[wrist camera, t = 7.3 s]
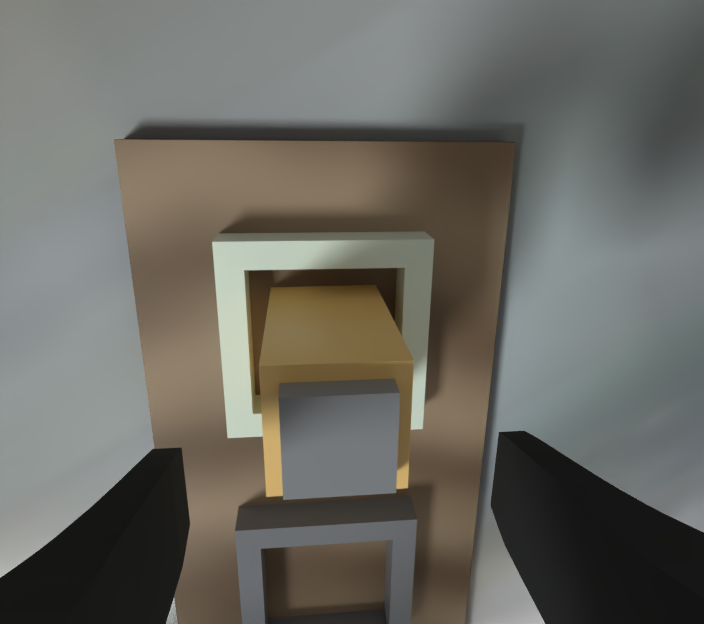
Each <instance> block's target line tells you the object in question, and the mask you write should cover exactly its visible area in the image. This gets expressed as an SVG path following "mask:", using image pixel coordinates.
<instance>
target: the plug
mask: <svg viewBox="0 0 704 624" xmlns="http://www.w3.org/2000/svg"><path fill="white" fill-rule="evenodd" d="M413 371H414V359H413V357H412V355H411V353H410V351H409V349H408V347H407V345H406V343H405V342H404V340H403V338H402V336H401V334H400V332H399V330H398V328H397V326H396V324H395V322H394V320H393V318H392V316H391V314H390V312H389V310H388V308H387V306H386V304H385V302H384V300H383V298H382V296H381V294H380V292H379V290H378V288H377V286H376V285H348V286H305V287H271V290H270V296H269V303H268V309H267V316H266V322H265V329H264V335H263V342H262V348H261V355H260V361H259V379H260V397H261V414H262V431H263V448H264V465H265V482H266V497H273V496H283V500H291V499H308V498H324V497H340V496H356V495H372V494H388V493H396V489H404V488H408V475H409V454H410V433H411V413H412V392H413Z"/></svg>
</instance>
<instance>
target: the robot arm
mask: <svg viewBox="0 0 704 624" xmlns="http://www.w3.org/2000/svg"><path fill="white" fill-rule="evenodd" d="M491 508H492V510H493V513H494V516H495V519H496V522H497V525H498V528H499V530H500V533H501V536H502V538H503V541H504V544H505V546H506V548H507V550H508V552H509V554H510V556H511V558H512V560H513V562H514V564H515V566H516V568H517V570H518V572H519V574H520V576H521V578H522V580H523V582H524V584H525V585H526V587H527V589H528V591H529V593H530V595H531V597H532V599H533V601H534V603H535V605H536V607H537V608H538V610H539V612H540V614H541V616H542V618H543V620H544V622H545V624H704V533H703V532H701V531H699V530H697V529H695V528H692V527H690V526H688V525H686V524H684V523H682V522H680V521H678V520H676V519H674V518H672V517H670V516H668V515H665V514H663V513H661V512H660V511H658V510H656V509H654V508H652V507H650V506H648V505H646V504H644V503H643V502H641V501H639V500H637V499H636V498H634V497H632V496H630V495H628V494H627V493H625V492H623V491H621V490H620V489H618V488H616V487H614V486H613V485H611V484H609V483H608V482H606V481H604V480H603V479H601V478H599V477H598V476H596V475H595V474H593V473H591V472H590V471H588V470H587V469H585V468H583V467H582V466H580V465H579V464H577V463H576V462H574V461H572V460H571V459H569V458H568V457H566V456H565V455H563V454H562V453H560V452H558V451H557V450H555V449H554V448H552V447H551V446H549V445H547V444H546V443H544V442H543V441H541V440H539V439H538V438H536V437H534V436H533V435H531V434H529V433H527V432H525V431H513V432H499V437H498V446H497V454H496V463H495V472H494V480H493V489H492V497H491ZM189 528H190V517H189V509H188V500H187V491H186V482H185V473H184V464H183V455H182V447H181V448H161V449H152V450H151V451H150V452H149V453H148V454H147V455H146V456H145V457H144V458H143V459H142V460H141V461H140V462H139V463H138V464H137V465H136V466H134V467H133V468H132V469H131V470H130V471H129V472H128V473H127V474H126V475H125V476H124V477H123V478H122V479H121V480H120V481H119V482H118V483H117V484H116V485H115V486H114V487H113V488H112V489H110V490H109V491H108V492H107V493H106V494H105V495H104V496H103V497H102V498H101V499H100V500H99V501H97V502H96V503H95V504H94V505H93V506H92V507H91V508H90V509H88V510H87V511H86V512H85V513H84V514H83V515H81V516H80V517H79V518H78V519H77V520H75V521H74V522H73V523H72V524H71V525H70V526H68V527H67V528H66V529H65V530H64V531H62V532H61V533H60V534H59V535H58V536H57V537H55V538H54V539H53V540H52V541H50V542H49V543H48V544H46V545H45V546H44V547H43V548H41V549H40V550H39V551H37V552H36V553H35V554H33V555H32V556H31V557H29V558H28V559H26V560H25V561H24V562H22V563H21V564H19V565H18V566H17V567H15V568H14V569H12V570H11V571H10V572H8V573H7V574H5V575H4V576H2V577H1V578H0V624H166V621H167V617H168V614H169V611H170V608H171V605H172V601H173V598H174V595H175V591H176V588H177V585H178V581H179V578H180V575H181V571H182V568H183V562H184V557H185V551H186V546H187V540H188V534H189Z"/></svg>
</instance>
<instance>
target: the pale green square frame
mask: <svg viewBox="0 0 704 624" xmlns="http://www.w3.org/2000/svg"><path fill="white" fill-rule="evenodd" d="M212 247H213V260H214V273H215V285H216V298H217V311H218V323H219V336H220V349H221V361H222V374H223V387H224V399H225V412H226V425H227V437H228V438H242V437H263V431H262V414H261V397H260V395H255V377H254V359H253V342H252V324H251V307H250V289H249V272H248V270H296V269H358V268H397V279H396V304H395V324H396V326H397V328H398V330H399V332H400V334H401V336H402V338H403V340H404V342H405V343H406V345H407V347H408V349H409V351H410V353H411V355H412V357H413V359H414V371H413V392H412V413H411V430H414V429H423V417H424V400H425V384H426V368H427V352H428V336H429V319H430V303H431V287H432V271H433V255H434V239H433V238H432V237H431V236H430V235H428V234H427V233H426V232H425V231H418V232H312V233H218V234H217V236H216V237H215V239H214V240H213V241H212Z"/></svg>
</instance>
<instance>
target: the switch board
mask: <svg viewBox="0 0 704 624" xmlns="http://www.w3.org/2000/svg"><path fill="white" fill-rule="evenodd" d="M114 144H115V151H116V159H117V166H118V174H119V181H120V189H121V197H122V204H123V212H124V219H125V227H126V234H127V242H128V249H129V257H130V265H131V272H132V280H133V287H134V295H135V302H136V310H137V317H138V325H139V332H140V340H141V348H142V355H143V363H144V370H145V378H146V385H147V393H148V400H149V408H150V416H151V423H152V431H153V438H154V446H155V449H161V448H181V447H182V455H183V464H184V473H185V482H186V491H187V500H188V509H189V517H190V528H189V534H188V540H187V546H186V551H185V557H184V562H183V568H182V571H181V575H180V578H179V581H178V585H177V588H176V591H175V595H174V597H175V604H176V612H177V619H178V624H242V615H241V602H240V589H239V577H238V564H237V551H236V539H235V527H236V520H237V514H238V507H239V506H253V505H270V504H287V503H304V502H321V501H338V500H354V499H371V498H388V497H405V496H410V498H411V501H412V504H413V508H414V511H415V514H416V517H417V530H416V546H415V562H414V579H413V595H412V611H411V624H465V618H466V609H467V599H468V590H469V580H470V571H471V562H472V552H473V543H474V534H475V524H476V515H477V506H478V496H479V487H480V478H481V468H482V459H483V450H484V440H485V431H486V422H487V412H488V403H489V393H490V384H491V375H492V365H493V356H494V347H495V337H496V328H497V319H498V309H499V300H500V291H501V281H502V272H503V263H504V253H505V244H506V234H507V225H508V216H509V206H510V197H511V188H512V178H513V169H514V160H515V150H516V143H515V142H458V141H326V140H195V139H115V140H114ZM418 231H425V232H426V233H427V234H428V235H430V236H431V237H432V238H433V239H434V255H433V271H432V287H431V303H430V319H429V336H428V352H427V368H426V384H425V400H424V417H423V429H414V430H411V433H410V454H409V475H408V488H404V489H396V493H388V494H372V495H356V496H340V497H324V498H308V499H291V500H283V496H273V497H266V482H265V465H264V448H263V437H242V438H228V437H227V425H226V412H225V399H224V387H223V374H222V361H221V349H220V336H219V323H218V311H217V298H216V285H215V273H214V260H213V247H212V241H213V240H214V239H215V237H216V236H217V234H218V233H312V232H418ZM248 272H249V289H250V307H251V324H252V342H253V359H254V377H255V395H260V379H259V361H260V355H261V348H262V342H263V335H264V329H265V322H266V316H267V309H268V303H269V296H270V290H271V287H305V286H348V285H376V286H377V288H378V290H379V292H380V294H381V296H382V298H383V300H384V302H385V304H386V306H387V308H388V310H389V312H390V314H391V316H392V318H393V320H394V322H395V304H396V279H397V268H358V269H296V270H248ZM264 553H265V570H266V588H267V605H268V618H278V617H290V616H303V615H315V614H328V613H340V612H353V611H365V610H378V609H384V589H385V563H386V540H385V541H370V542H355V543H340V544H325V545H310V546H295V547H280V548H265V549H264Z"/></svg>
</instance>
